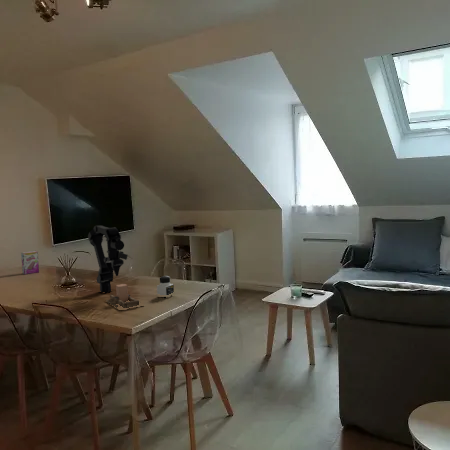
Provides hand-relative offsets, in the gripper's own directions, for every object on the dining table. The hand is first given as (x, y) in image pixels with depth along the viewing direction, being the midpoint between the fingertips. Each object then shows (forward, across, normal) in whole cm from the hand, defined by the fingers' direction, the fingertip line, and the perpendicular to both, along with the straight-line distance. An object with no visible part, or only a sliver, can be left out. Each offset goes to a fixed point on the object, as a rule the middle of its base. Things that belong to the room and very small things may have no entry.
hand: (114, 274), depth 271 cm
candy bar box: (+10, +110, +30) cm, 115 cm away
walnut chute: (+14, -19, +1) cm, 23 cm away
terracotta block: (+12, -16, +1) cm, 20 cm away
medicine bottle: (+14, -19, -24) cm, 33 cm away
